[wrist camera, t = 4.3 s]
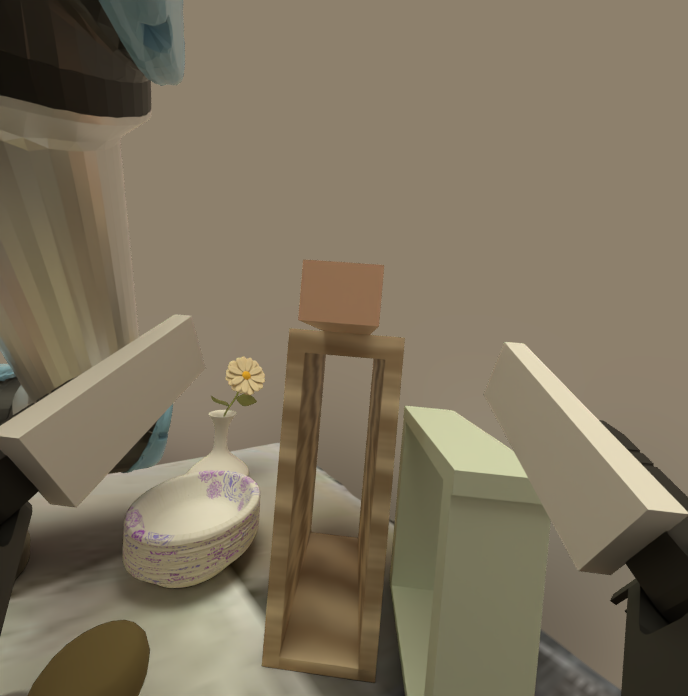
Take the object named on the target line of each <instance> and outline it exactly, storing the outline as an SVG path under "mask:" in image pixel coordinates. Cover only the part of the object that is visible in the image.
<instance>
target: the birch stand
mask: <svg viewBox="0 0 688 696" xmlns="http://www.w3.org/2000/svg"><path fill="white" fill-rule="evenodd" d="M404 342H405V338H401V337H388V336H376V335H365V334H353V333H340V332H328V331H316V330H303V329H292V328H290V330H289V342H288V354H287V366H286V367H287V368H286V378H285V390H284V402H283V415H282V428H281V439H280V451H279V463H278V475H277V487H276V500H275V512H274V524H273V536H272V548H271V560H270V572H269V585H268V597H267V609H266V621H265V633H264V645H263V657H262V666H265V667H271V668H278V669H285V670H292V671H299V672H305V673H312V674H319V675H326V676H333V677H339V678H346V679H353V680H360V681H367V682H373V683H375V675H376V663H377V652H378V640H379V629H380V617H381V606H382V594H383V583H384V572H385V560H386V549H387V537H388V526H389V514H390V502H391V491H392V479H393V468H394V457H395V446H396V434H397V422H398V411H399V400H400V388H401V376H402V365H403V353H404ZM326 354H327V355H338V356H350V357H361V358H373V359H374V361H373V372H372V383H371V395H370V406H369V418H368V430H367V441H366V453H365V465H364V476H363V489H362V499H361V511H360V523H359V534H358V538H354V537H346V536H338V535H329V534H321V533H313V532H311V524H312V513H313V501H314V489H315V477H316V465H317V452H318V441H319V429H320V417H321V405H322V393H323V382H324V370H325V358H326Z"/></svg>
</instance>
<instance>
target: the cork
mask: <svg viewBox="0 0 688 696" xmlns="http://www.w3.org/2000/svg"><path fill="white" fill-rule="evenodd" d="M149 654H150V648H149V644H148V640H147V636H146V633H145V631H144V630H143V629H142V628H141V627H140V626H138V625H137V624H136V623H135V622H131V621H127V620H117V621H111V622H107V623H104V624H101V625H98V626H96V627H94V628H92V629H90V630H88V631H86V632H84V633H83V634H81V635H80V636H78V637H77V638H75V639H74V640H73V641H71V642H70V643H68V644H67V645H66V646H65V647H64V648H63V649H62V650H61V651H60V652H59V653H57V654H56V655H55V656H54V657H53V658H52V659H51V661H50V662H49V663H48V665H47V666H46V667H45V669H44V670H43V671H42V672H41V674H40V675H39V677H38V678H37V679H36V681H35V682H34V683H33V685H32V687H31V690H30V692H29V694H28V696H138V695H139V693H140V690H141V688H142V686H143V683H144V680H145V677H146V675H147V669H148V662H149Z"/></svg>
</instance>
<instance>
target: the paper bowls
mask: <svg viewBox="0 0 688 696" xmlns="http://www.w3.org/2000/svg"><path fill="white" fill-rule="evenodd" d="M260 496H261V495H260V490H259V487H258V485H257V483H256V482H255V481H254V480H253V479H251V478H250V477H248V476H246V475H243V474H241V473H237V472H232V471H223V470H211V471H201V472H195V473H190V474H186V475H182V476H179V477H176V478H173V479H170V480H167V481H165V482H163V483H161V484H159V485H157V486H155V487H153V488H151V489H149V490H148V491H146V492H145V493H144V494H142V495H141V496H140V497H139V498H138V499H137V500H136V501H134V503H133V504H132V505H131V507H130V508H129V509H128V511H127V513H126V515H125V518H124V527H123V531H124V533H123V564H124V567H125V569H126V571H127V572H128V573H129V574H130V575H132V576H133V577H134V578H137V579H138V580H142V581H143V582H145V581H147V582H148V583H153V584H157V585H160V586H162V587H167V588H183V587H189V586H193V585H196V584H199V583H202V582H204V581H206V580H208V579H210V578H212V577H213V576H215V575H217V574H218V573H219V572H221V571H222V570H223V569H224V568H225V567H226V566H228V565H229V564H230V563H232V562H233V561H235V560H236V559H237V558H238V557H240V556H241V555H242V554H243V553H244V552H245V551H246V550H247V548H248V547H249V546H250V544H251V543H252V541H253V540H254V537H255V535H256V533H257V529H258V523H259V512H260V498H261V497H260Z"/></svg>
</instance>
